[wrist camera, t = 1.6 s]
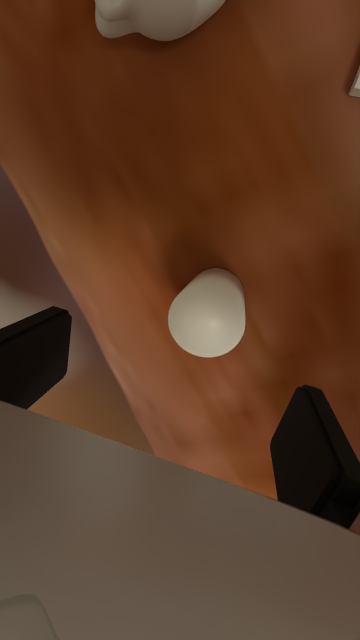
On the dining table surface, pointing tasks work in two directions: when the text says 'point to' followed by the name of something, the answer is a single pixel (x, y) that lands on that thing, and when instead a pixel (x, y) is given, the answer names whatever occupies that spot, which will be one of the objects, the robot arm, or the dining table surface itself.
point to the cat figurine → (153, 17)
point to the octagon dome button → (356, 85)
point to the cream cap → (209, 314)
